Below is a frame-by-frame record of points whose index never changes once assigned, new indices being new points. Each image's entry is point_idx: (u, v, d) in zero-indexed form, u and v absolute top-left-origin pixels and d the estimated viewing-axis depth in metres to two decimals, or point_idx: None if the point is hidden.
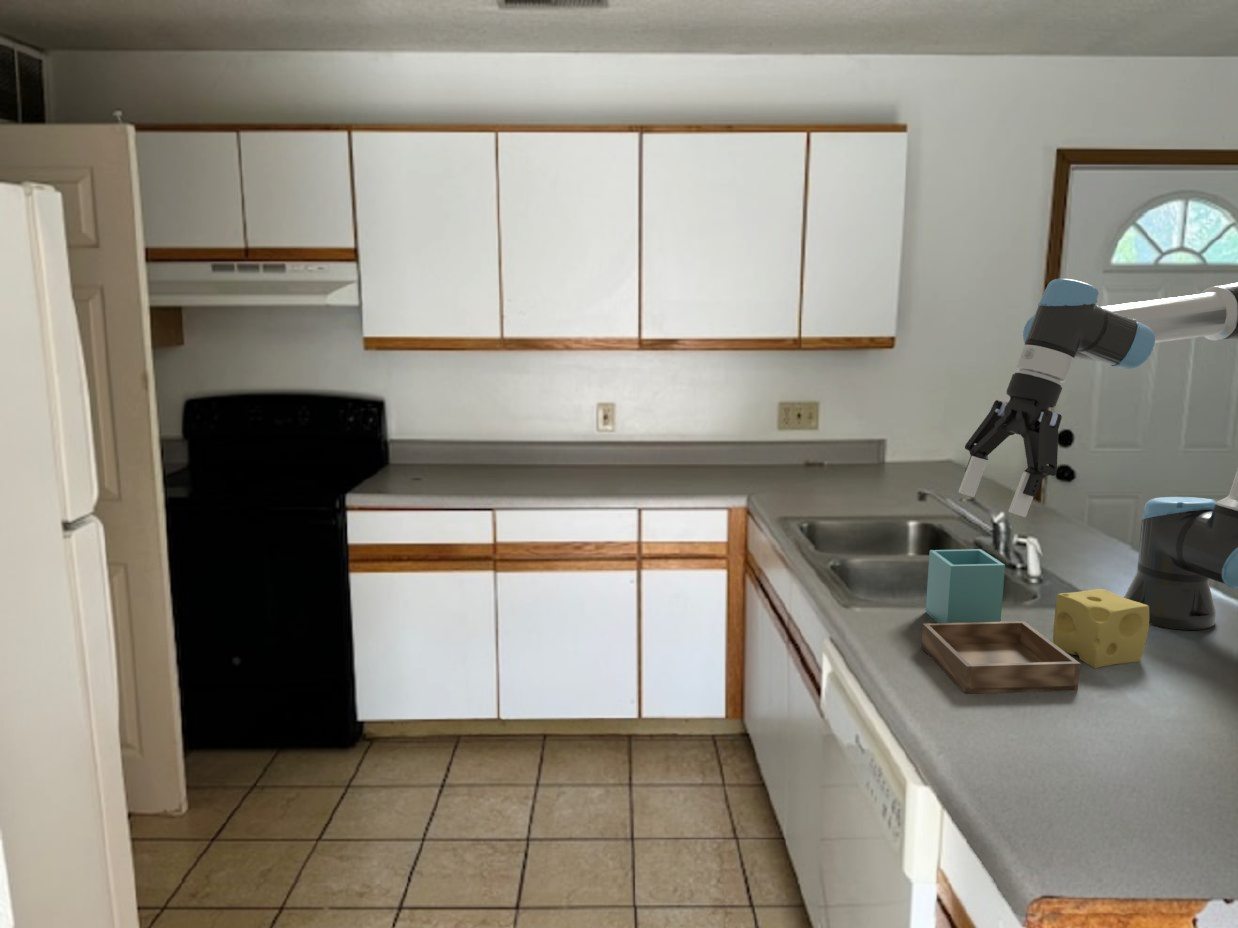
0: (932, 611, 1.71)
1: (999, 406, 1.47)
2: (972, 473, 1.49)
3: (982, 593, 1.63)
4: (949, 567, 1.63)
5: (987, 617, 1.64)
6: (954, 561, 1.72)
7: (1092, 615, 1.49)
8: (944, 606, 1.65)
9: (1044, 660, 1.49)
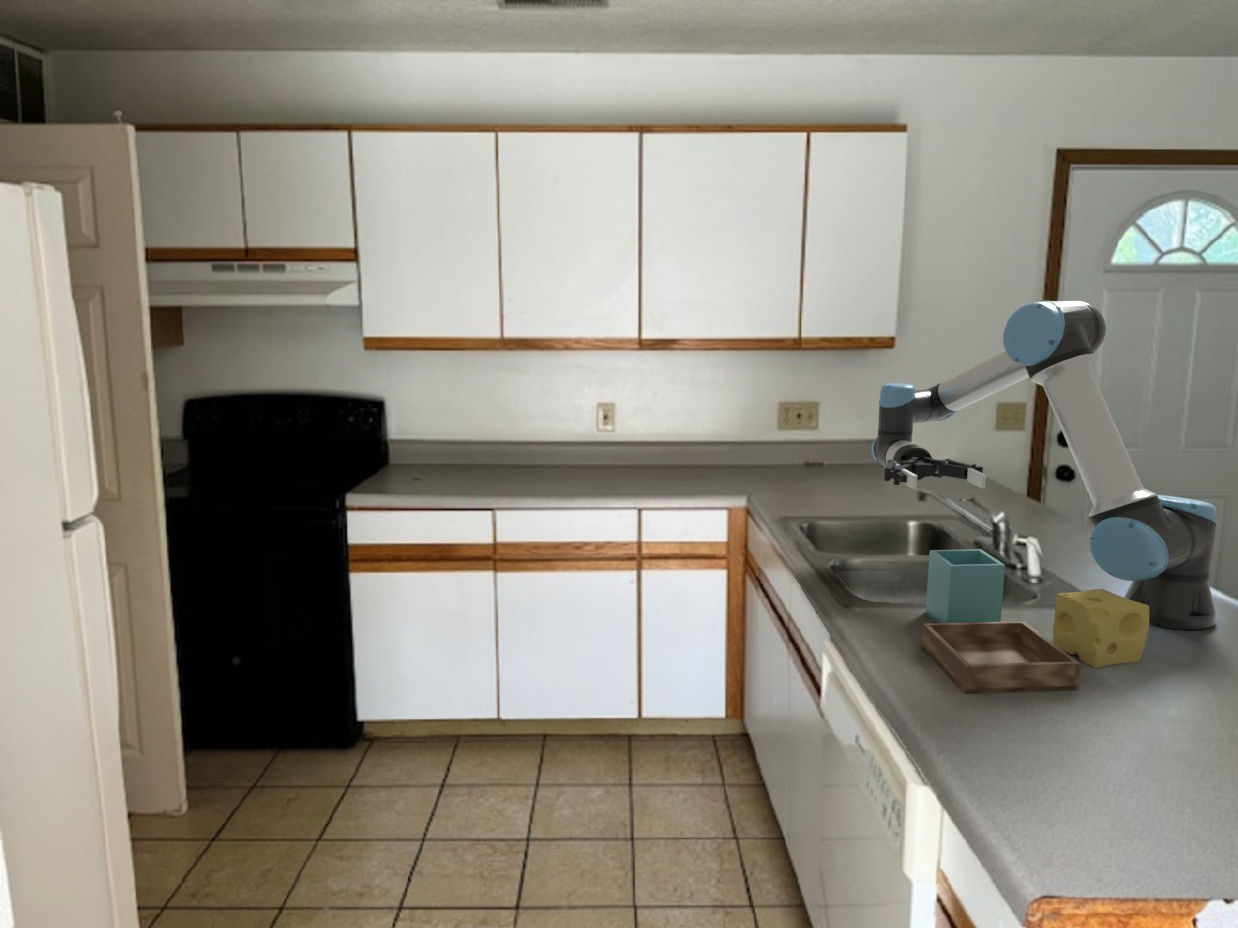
0: (932, 611, 1.71)
1: None
2: (973, 480, 1.78)
3: (982, 593, 1.63)
4: (949, 567, 1.63)
5: (987, 617, 1.64)
6: (954, 561, 1.72)
7: (1092, 615, 1.49)
8: (944, 606, 1.65)
9: (1044, 660, 1.49)
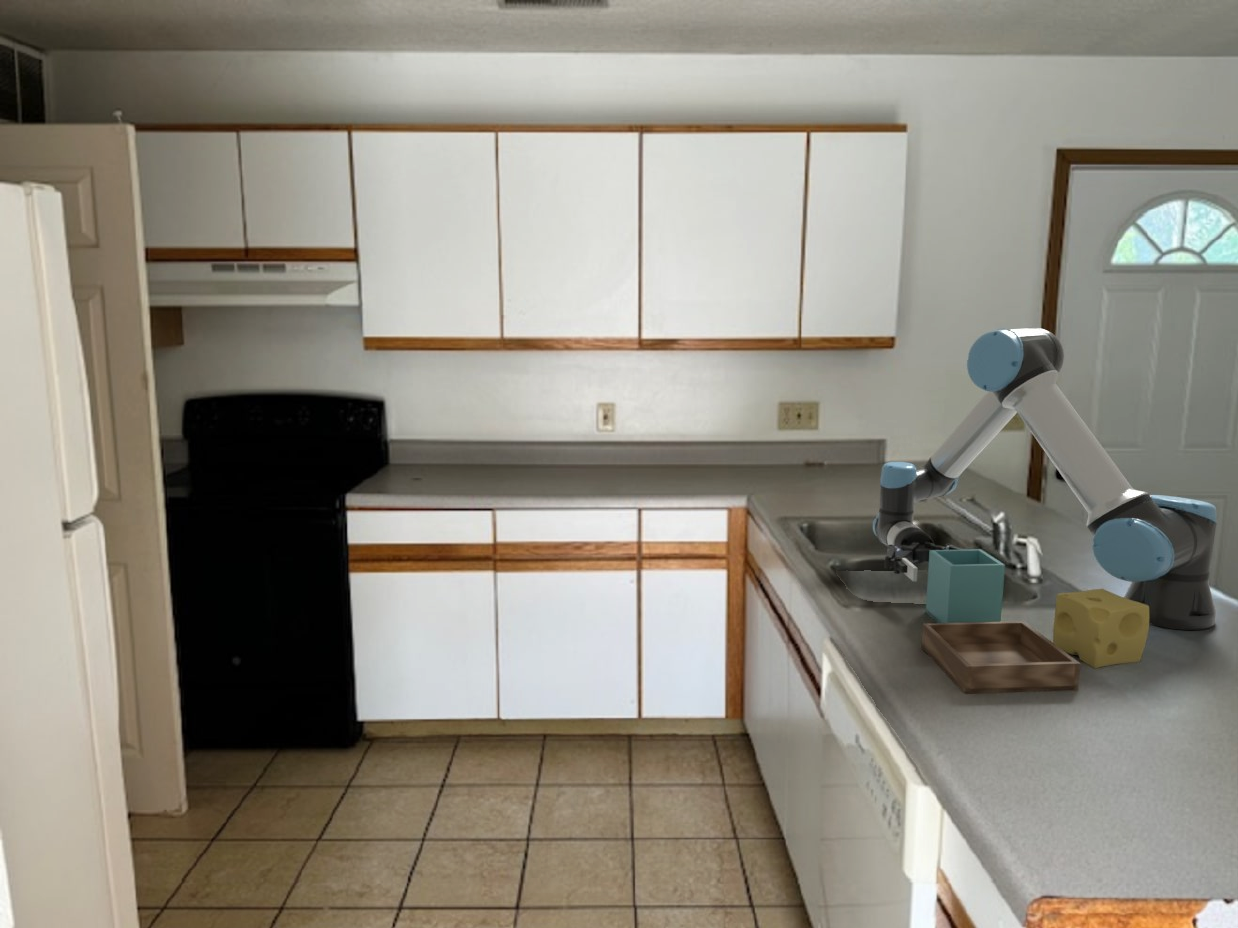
0: (932, 611, 1.71)
1: None
2: None
3: (982, 593, 1.63)
4: (949, 567, 1.63)
5: (987, 617, 1.64)
6: (954, 561, 1.72)
7: (1092, 615, 1.49)
8: (944, 606, 1.65)
9: (1044, 660, 1.49)
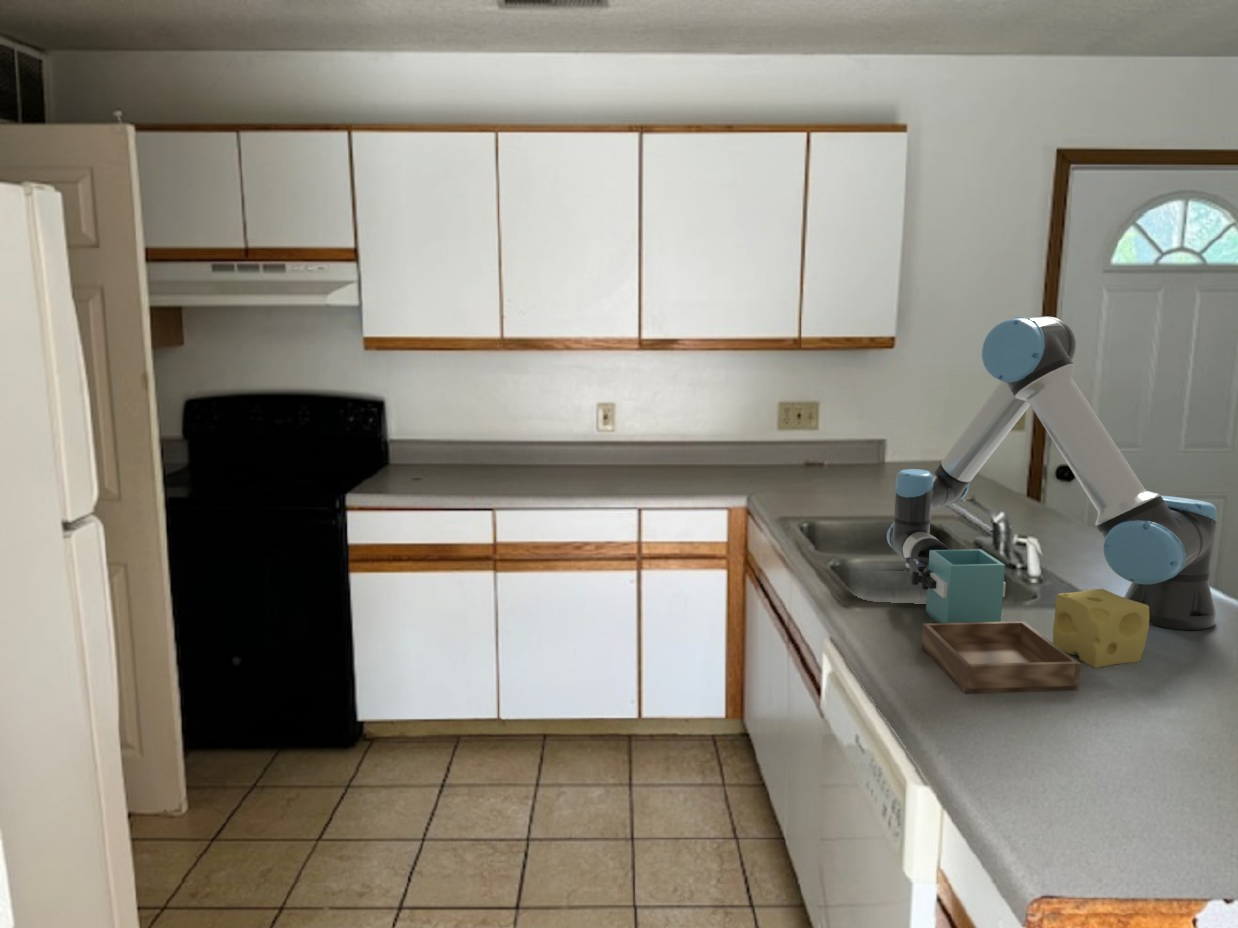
0: (932, 611, 1.71)
1: None
2: None
3: (982, 593, 1.63)
4: (949, 567, 1.63)
5: (987, 617, 1.64)
6: (954, 561, 1.72)
7: (1092, 615, 1.49)
8: (944, 606, 1.65)
9: (1044, 660, 1.49)
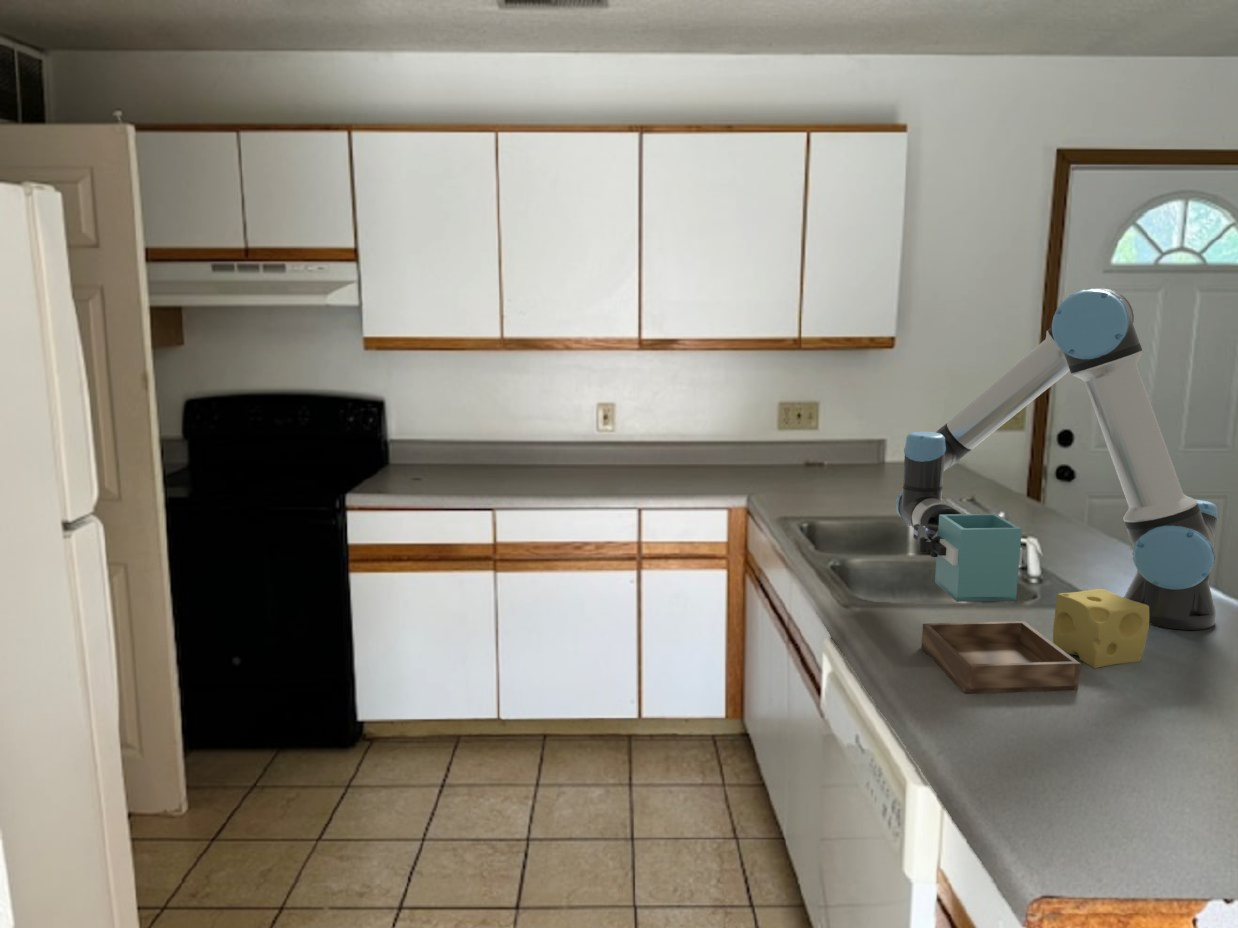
0: (942, 581, 1.56)
1: None
2: None
3: (996, 560, 1.49)
4: (960, 531, 1.48)
5: (1002, 586, 1.50)
6: (967, 526, 1.57)
7: (1092, 615, 1.49)
8: (954, 574, 1.51)
9: (1044, 660, 1.49)
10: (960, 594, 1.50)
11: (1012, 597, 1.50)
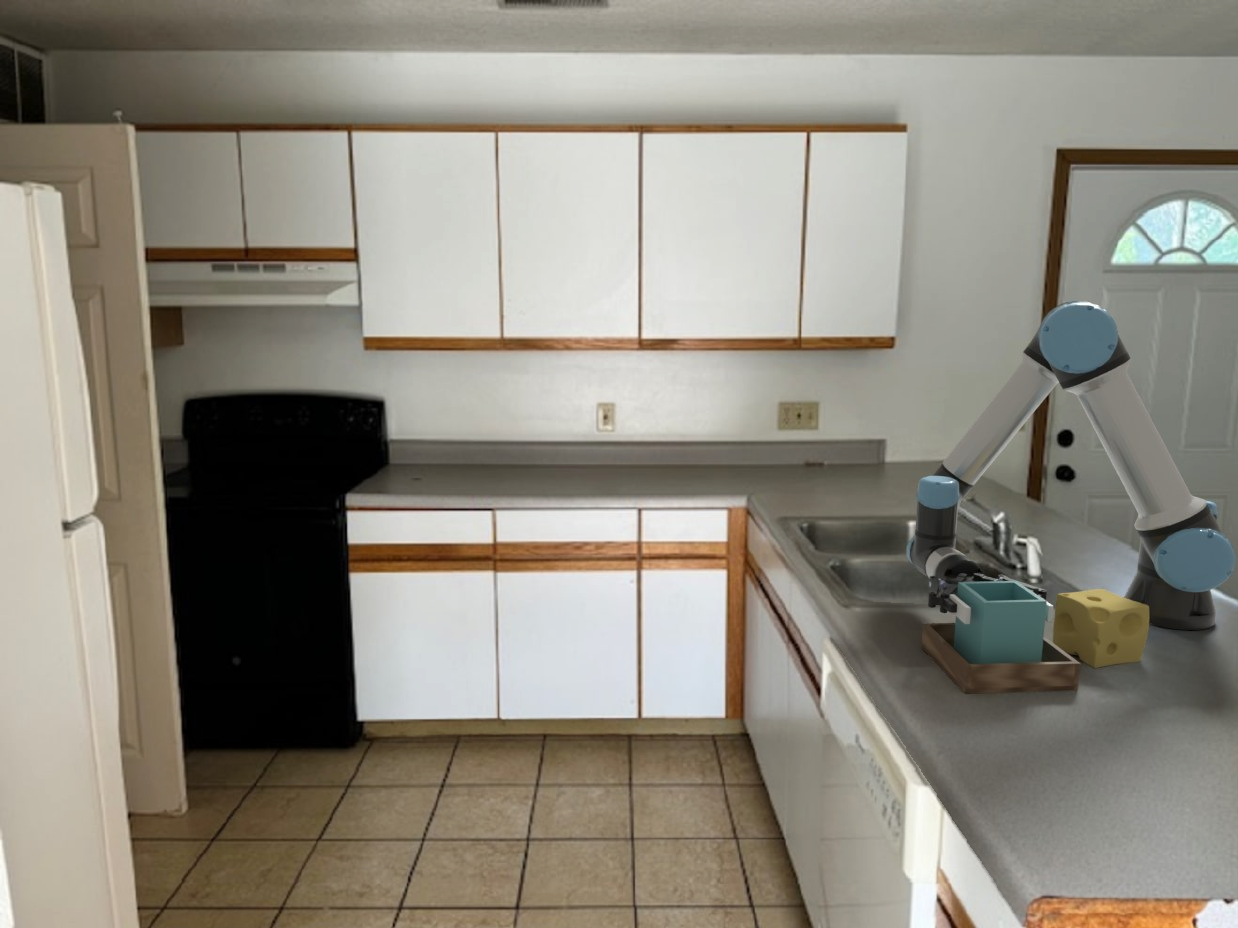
0: (961, 652, 1.50)
1: None
2: None
3: (1020, 633, 1.42)
4: (982, 604, 1.42)
5: (1025, 660, 1.43)
6: (986, 594, 1.51)
7: (1092, 615, 1.49)
8: (976, 648, 1.44)
9: (1044, 660, 1.49)
10: None
11: None
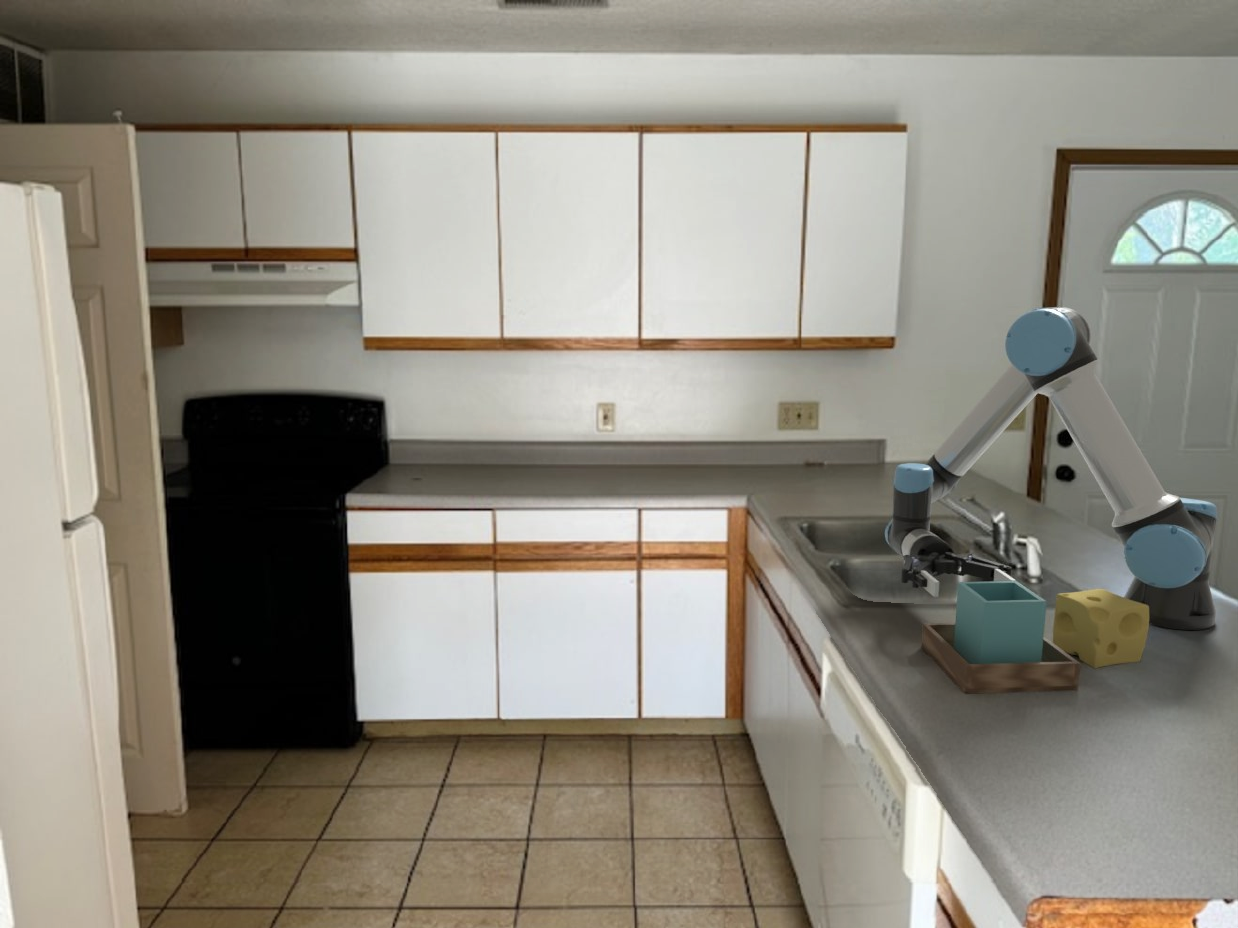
0: (961, 652, 1.50)
1: None
2: None
3: (1020, 633, 1.42)
4: (982, 604, 1.42)
5: (1025, 660, 1.43)
6: (986, 594, 1.51)
7: (1092, 615, 1.49)
8: (976, 648, 1.44)
9: (1044, 660, 1.49)
10: None
11: None
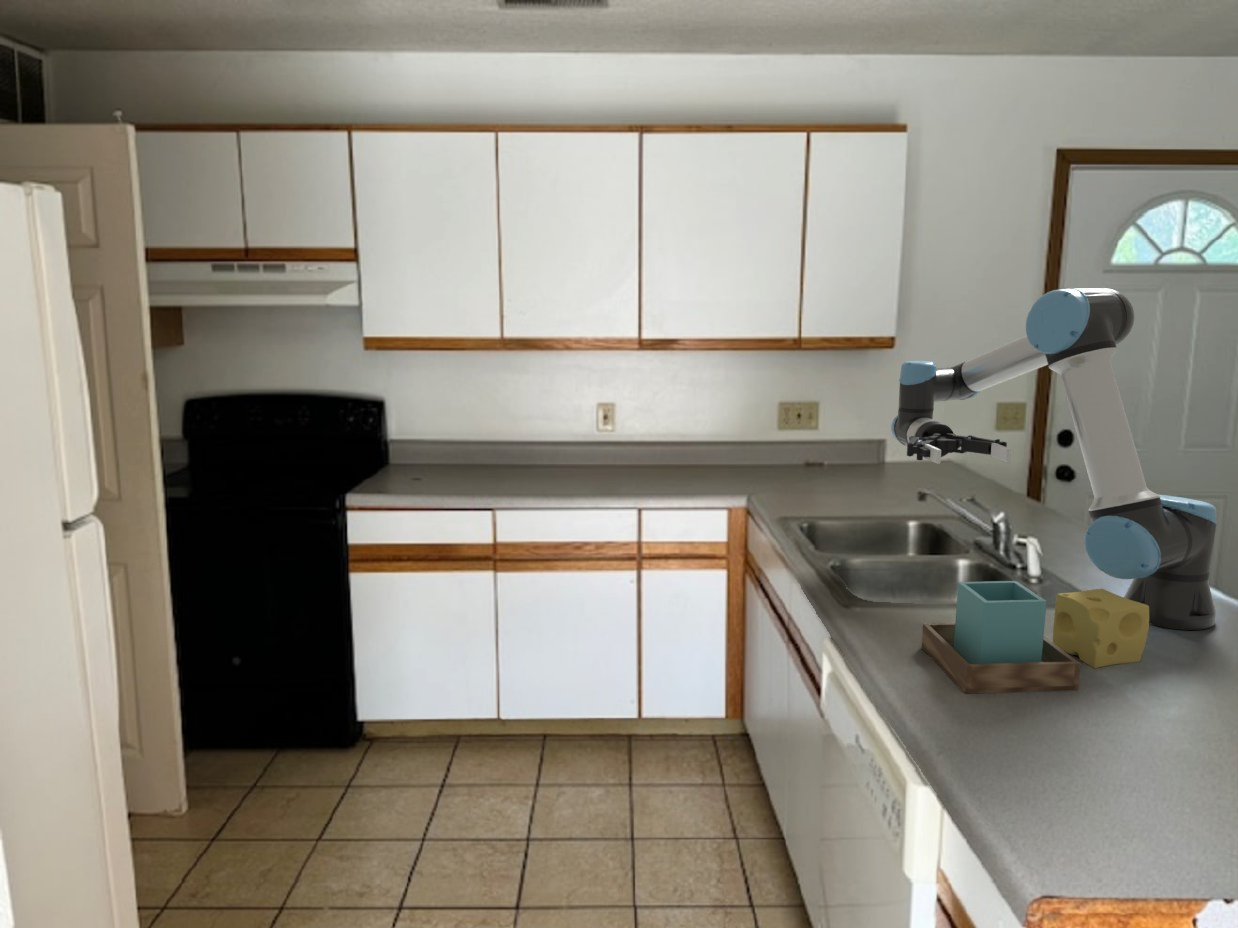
0: (961, 652, 1.50)
1: None
2: (997, 455, 1.77)
3: (1020, 633, 1.42)
4: (982, 604, 1.42)
5: (1025, 660, 1.43)
6: (986, 594, 1.51)
7: (1092, 615, 1.49)
8: (976, 648, 1.44)
9: (1044, 660, 1.49)
10: None
11: None
